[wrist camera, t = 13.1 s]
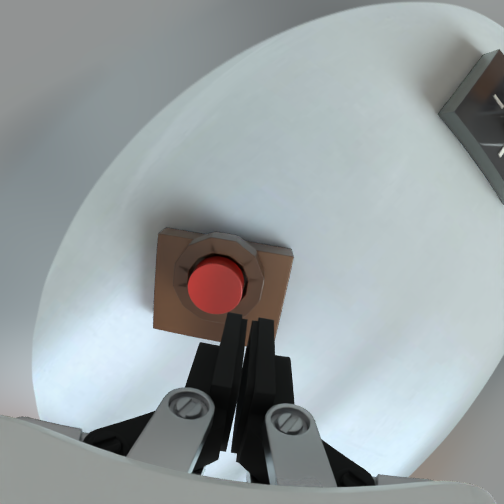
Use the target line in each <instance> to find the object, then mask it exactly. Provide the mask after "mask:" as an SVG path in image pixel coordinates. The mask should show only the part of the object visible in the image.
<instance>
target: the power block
mask: <svg viewBox="0 0 504 504" xmlns="http://www.w3.org/2000/svg"><path fill="white" fill-rule="evenodd" d="M214 256H219V257H225V258H227V259H229V260H231V261H233V262H234V263H235V264H236V265H237V266H238V267H239V268H240V270H241V272H242V274H243V277H244V287H243V293H242V297H241V300H240V302H239V304H238V305H237V306H236V307H235V308H234V309H232V310H231V311H229V312H231V313H237V314H242V318H243V319H248V321H247V330H246V339H245V346H247V343H248V338H249V333H250V328H251V324H252V320H254V321H258V318H259V317H260V318H266V319H272V320H274V341H275V337H276V333H277V329H278V324H279V320H280V316H281V312H282V307H283V303H284V299H285V294H286V290H287V286H288V281H289V277H290V272H291V268H292V263H293V258H294V257H293V253H292V249H289V248H283V247H277V246H271V245H266V244H260V243H254V242H248V241H245V240H243V239H242V238H241V237H240V236H238V235H233V234H227V233H221V232H212V233H209V234H202V233H196V232H190V231H184V230H178V229H172V228H165V229H164V230H162V231H161V232H160V233H159V234H158V244H157V257H156V272H155V290H154V314H153V328H155V329H159V330H164V331H168V332H173V333H178V334H182V335H187V336H192V337H197V338H202V339H207V340H213V341H218V342H221V338H222V334H223V330H224V326H225V321H226V317H227V313H228V312H227V313H223V314H211V313H207V312H204V311H203V310H201V309H199V308H198V307H197V306H196V305H195V304H194V303H193V302H192V300H191V298H190V296H189V293H188V281H189V278H190V276H191V274H192V273H193V271H194V269H195V268H196V266H197V265H198V264H199V263H200V262H201V261H202V260H204V259H206V258H209V257H214Z"/></svg>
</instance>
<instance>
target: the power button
mask: <svg viewBox="0 0 504 504" xmlns="http://www.w3.org/2000/svg"><path fill="white" fill-rule="evenodd" d="M243 287H244V277H243V274H242V272H241V270H240V268H239V267H238V266H237V265H236V264H235V263H234V262H233V261H231V260H229V259H227V258H225V257H219V256H214V257H209V258H206V259H204V260H202V261H201V262H200V263H199V264H198V265H197V266H196V268H195V269H194V271H193V273H192V274H191V276H190V278H189V281H188V293H189V296H190V298H191V300H192V302H193V303H194V304H195V305H196V306H197V307H198V308H199V309H201V310H203V311H204V312H207V313H211V314H223V313H227V312H229V311H231V310H232V309H234V308H235V307H236V306H237V305H238V304H239V302H240V300H241V297H242V293H243Z"/></svg>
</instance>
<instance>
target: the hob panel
mask: <svg viewBox="0 0 504 504" xmlns="http://www.w3.org/2000/svg"><path fill="white" fill-rule="evenodd" d="M438 115H439V117H440V118H441V119H442V120H443V121H444V122H445V124H446V125H447V126H448V127H449V128H450V130H451V131H452V132H453V133H454V135H455V136H456V137H457V138H458V140H459V141H460V142H461V143H462V145H463V146H464V147H465V149H466V150H467V151H468V153H469V154H470V155H471V157H472V158H473V159H474V161H475V162H476V164H477V165H478V166H479V168H480V169H481V171H482V172H483V174H484V175H485V177H486V178H487V180H488V181H489V182H490V184H491V186H492V187H493V189H494V190H495V192H496V193H497V195H498V196H499V198H500V200H501V201H502V203H503V205H504V55H503V53H502V52H501V51H500V49H498V50H496V51H493V52H490V53H487V54H484V55H482V57H481V58H480V59H479V61H478V62H477V64H476V65H475V66H474V68H473V69H472V70H471V72H470V73H469V74H468V76H467V77H466V78H465V80H464V81H463V82H462V84H461V85H460V86H459V88H458V89H457V90H456V91H455V93H454V94H453V95H452V97H451V98H450V99H449V101H448V102H447V103H446V104H445V106H444V107H443V108H442V109H441V111H440V112H439V113H438Z"/></svg>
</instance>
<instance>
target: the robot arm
mask: <svg viewBox="0 0 504 504" xmlns="http://www.w3.org/2000/svg"><path fill="white" fill-rule="evenodd" d="M247 321H248V319H243V318H242V314H237V313H231V312H228V313H227V317H226V321H225V326H224V330H223V334H222V338H221V343H220V346H217V345H212V344H207V343H202V342H200V344H199V346H198V349H197V352H196V355H195V358H194V361H193V364H192V367H191V370H190V373H189V377H188V380H187V383H186V386H185V388H178V389H174V390H172V391H170V392H169V393H168V394H167V395H166V396H165V397H164V398H163V400H162V402H161V403H160V405H159V406H158V408H157V409H156V411H153V412H151V413H148V414H145V415H142V416H139V417H136V418H132V419H129V420H126V421H123V422H120V423H116V424H113V425H110V426H106V427H103V428H99V429H96V430H94V431H92V432H90V433H83V432H82V429H79V428H74V427H69V426H64V425H59V424H55V423H50V422H46V421H41V420H37V419H33V418H29V417H17V418H13V417H9V416H4V415H0V504H497V503H496V501H495V500H494V498H493V497H492V496H491V495H490V494H489V493H488V492H487V491H486V490H485V489H483V488H481V487H479V486H476V485H473V484H468V483H462V482H455V481H433V480H429V479H419V478H407V477H397V476H388V475H380V474H378V475H377V476H376V477H372V476H371V474H370V473H368V472H367V471H366V470H365V469H363V468H362V467H360V466H359V465H357V464H356V463H354V462H353V461H351V460H350V459H348V458H347V457H345V456H344V455H343V454H341V453H340V452H338V451H337V450H335V449H334V448H333V447H331V446H330V445H328V444H327V443H326V442H324V441H323V440H321V437H320V434H319V431H318V428H317V426H316V423H315V420H314V418H313V416H312V415H311V414H310V413H309V412H308V411H307V410H306V409H304V408H302V407H300V406H297V405H294V393H293V382H292V371H291V360H290V358H289V357H284V356H277V355H275V342H274V320H272V319H266V318H260V317H259V318H258V321H254V320H252V324H251V328H250V333H249V338H248V343H247V348H246V353H245V357H244V362H243V356H244V347H245V339H246V330H247ZM242 365H243V367H242ZM236 404H237V406H236ZM235 408H236V415H235V423H234V431H233V439H232V447H231V453H237V459H236V462H238V463H240V464H241V465H242V466H243V467H244V468H245V469H246V470H247V474H246V479H247V482H239V481H232V480H225V479H219V478H213V477H207V476H203V474H204V472H205V467H206V465H208V464H210V463H212V462H214V461H216V460H218V458H219V453H220V451H225V452H226V449H227V444H228V440H229V435H230V431H231V427H232V422H233V418H234V413H235Z"/></svg>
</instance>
